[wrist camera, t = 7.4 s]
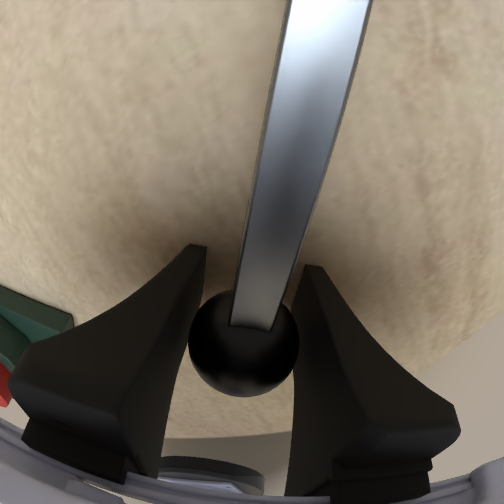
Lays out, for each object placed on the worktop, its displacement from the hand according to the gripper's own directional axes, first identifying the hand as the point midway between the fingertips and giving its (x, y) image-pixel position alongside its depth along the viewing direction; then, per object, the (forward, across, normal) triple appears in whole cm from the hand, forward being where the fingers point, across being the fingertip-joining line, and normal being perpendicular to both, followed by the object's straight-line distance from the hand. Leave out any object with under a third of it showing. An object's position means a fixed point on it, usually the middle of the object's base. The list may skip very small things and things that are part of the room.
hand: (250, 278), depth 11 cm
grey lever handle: (-3, 0, -12) cm, 12 cm away
